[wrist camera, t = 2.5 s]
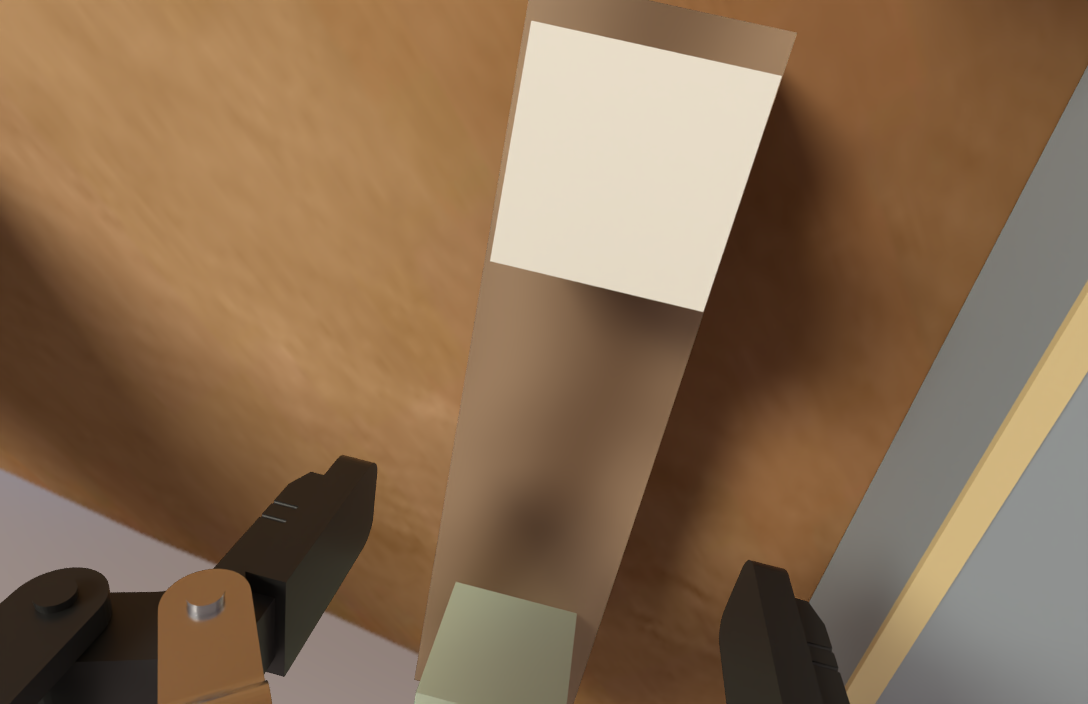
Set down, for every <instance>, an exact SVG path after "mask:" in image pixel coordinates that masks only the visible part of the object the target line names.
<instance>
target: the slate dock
mask: <svg viewBox="0 0 1088 704" xmlns="http://www.w3.org/2000/svg"><path fill="white" fill-rule="evenodd" d="M809 603H810V605H811V606H812V608H813V609H814V610H815V612H816V613H817V614H818V616H819V617H820V619H821V620H822V621H823V623H824V624H825V626H826V630H827V633H828V636H829V639H830V642H831V645H832V652H833V653H834V655H835V658H836V661H837V664H838V667H839V668H838V672H840V674H841V677H842V680H843V683H844V686H845V690H846V693H847V696H848V699H849V702H850V704H1088V66H1087V68H1086V70H1085V72H1084V74H1083V76H1082V78H1081V80H1080V82H1079V84H1078V85H1077V87H1076V89H1075V91H1074V93H1073V95H1072V97H1071V99H1070V101H1069V103H1068V105H1067V107H1066V109H1065V111H1064V112H1063V114H1062V116H1061V118H1060V120H1059V122H1058V124H1057V126H1056V128H1055V130H1054V132H1053V134H1052V136H1051V137H1050V139H1049V141H1048V143H1047V145H1046V147H1045V149H1044V151H1043V153H1042V155H1041V157H1040V159H1039V161H1038V163H1037V164H1036V166H1035V168H1034V170H1033V172H1032V174H1031V176H1030V178H1029V180H1028V182H1027V184H1026V186H1025V188H1024V189H1023V191H1022V193H1021V195H1020V197H1019V199H1018V201H1017V203H1016V205H1015V207H1014V209H1013V211H1012V213H1011V215H1010V216H1009V218H1008V220H1007V222H1006V224H1005V226H1004V228H1003V230H1002V232H1001V234H1000V236H999V238H998V240H997V241H996V243H995V245H994V247H993V249H992V251H991V253H990V255H989V257H988V259H987V261H986V263H985V265H984V267H983V268H982V270H981V272H980V274H979V276H978V278H977V280H976V282H975V284H974V286H973V288H972V290H971V292H970V293H969V295H968V297H967V299H966V301H965V303H964V305H963V307H962V309H961V311H960V313H959V315H958V317H957V319H956V320H955V322H954V324H953V326H952V328H951V330H950V332H949V334H948V336H947V338H946V340H945V342H944V344H943V345H942V347H941V349H940V351H939V353H938V355H937V357H936V359H935V361H934V363H933V365H932V367H931V369H930V370H929V372H928V374H927V376H926V378H925V380H924V382H923V384H922V386H921V388H920V390H919V392H918V394H917V396H916V397H915V399H914V401H913V403H912V405H911V407H910V409H909V411H908V413H907V415H906V417H905V419H904V421H903V422H902V424H901V426H900V428H899V430H898V432H897V434H896V436H895V438H894V440H893V442H892V444H891V446H890V448H889V449H888V451H887V453H886V455H885V457H884V459H883V461H882V463H881V465H880V467H879V469H878V471H877V473H876V474H875V476H874V478H873V480H872V482H871V484H870V486H869V488H868V490H867V492H866V494H865V496H864V498H863V500H862V501H861V503H860V505H859V507H858V509H857V511H856V513H855V515H854V517H853V519H852V521H851V523H850V525H849V526H848V528H847V530H846V532H845V534H844V536H843V538H842V540H841V542H840V544H839V546H838V548H837V550H836V552H835V553H834V555H833V557H832V559H831V561H830V563H829V565H828V567H827V569H826V571H825V573H824V575H823V577H822V578H821V580H820V582H819V584H818V586H817V588H816V590H815V592H814V594H813V596H812V598H811V600H810V602H809Z"/></svg>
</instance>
